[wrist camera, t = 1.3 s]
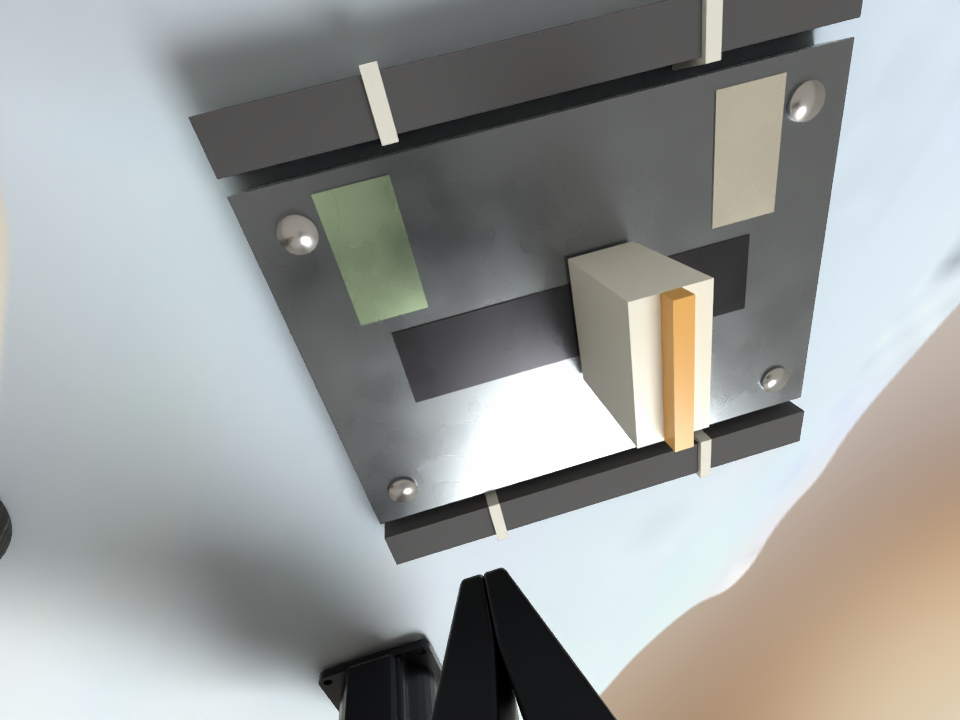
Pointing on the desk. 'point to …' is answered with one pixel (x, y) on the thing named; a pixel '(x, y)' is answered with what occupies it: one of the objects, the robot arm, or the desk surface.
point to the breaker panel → (549, 268)
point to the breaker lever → (645, 341)
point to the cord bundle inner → (590, 483)
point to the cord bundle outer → (496, 77)
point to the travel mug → (4, 530)
